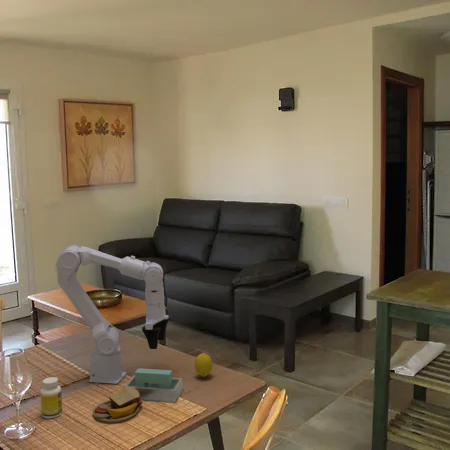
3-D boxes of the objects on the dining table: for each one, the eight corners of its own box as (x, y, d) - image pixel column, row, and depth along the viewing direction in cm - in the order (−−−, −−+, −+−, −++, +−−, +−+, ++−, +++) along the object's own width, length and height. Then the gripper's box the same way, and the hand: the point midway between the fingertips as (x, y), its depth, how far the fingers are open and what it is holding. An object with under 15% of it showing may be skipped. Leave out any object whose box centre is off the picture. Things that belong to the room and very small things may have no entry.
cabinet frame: (124, 398, 151) (123, 387, 150) (133, 386, 159) (133, 375, 158) (175, 402, 148) (175, 390, 148) (183, 389, 156) (182, 378, 156)
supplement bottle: (62, 417, 141) (60, 382, 139) (41, 420, 139) (38, 385, 138) (62, 408, 146) (60, 374, 145) (42, 411, 144) (39, 377, 143)
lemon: (210, 381, 161) (209, 356, 160) (193, 380, 163) (192, 355, 161) (214, 374, 167) (213, 350, 166) (197, 372, 168) (196, 349, 167)
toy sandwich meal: (87, 409, 146) (86, 393, 145) (133, 397, 152) (133, 382, 152) (100, 429, 135) (99, 412, 134) (149, 416, 141) (149, 399, 141)
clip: (135, 393, 153) (134, 372, 152) (139, 389, 156) (138, 368, 155) (170, 396, 151) (169, 374, 150) (172, 391, 154) (172, 370, 153)
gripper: (160, 309, 155) (162, 353, 157) (173, 296, 169) (175, 336, 171) (137, 309, 156) (140, 352, 158) (152, 295, 171) (154, 335, 172)
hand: (157, 344), depth 165 cm, fingers open, 7 cm apart
